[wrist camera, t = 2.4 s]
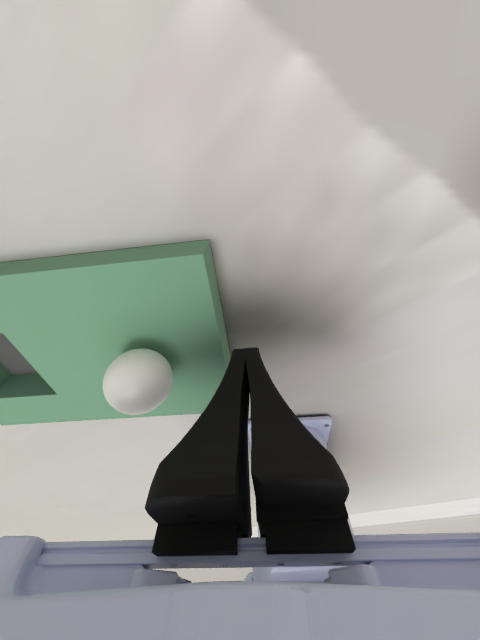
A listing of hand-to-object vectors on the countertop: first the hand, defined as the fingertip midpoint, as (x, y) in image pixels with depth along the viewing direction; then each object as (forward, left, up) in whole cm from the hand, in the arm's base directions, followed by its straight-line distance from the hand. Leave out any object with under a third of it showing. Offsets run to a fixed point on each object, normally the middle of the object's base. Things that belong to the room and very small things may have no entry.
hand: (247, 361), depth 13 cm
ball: (0, +6, +1) cm, 6 cm away
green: (0, +11, -3) cm, 11 cm away
